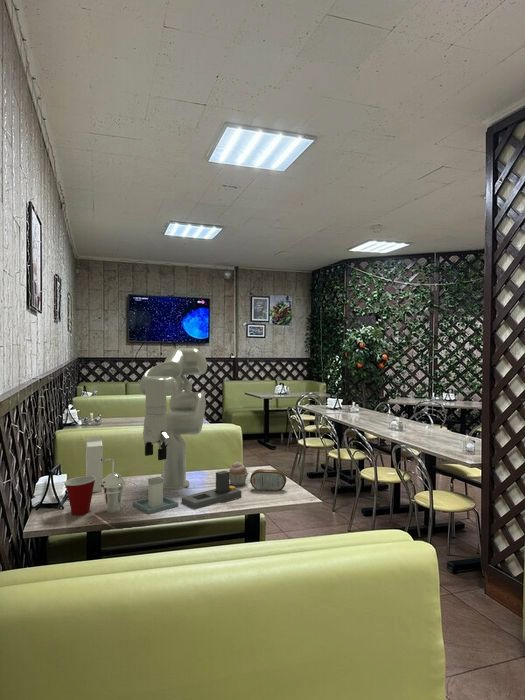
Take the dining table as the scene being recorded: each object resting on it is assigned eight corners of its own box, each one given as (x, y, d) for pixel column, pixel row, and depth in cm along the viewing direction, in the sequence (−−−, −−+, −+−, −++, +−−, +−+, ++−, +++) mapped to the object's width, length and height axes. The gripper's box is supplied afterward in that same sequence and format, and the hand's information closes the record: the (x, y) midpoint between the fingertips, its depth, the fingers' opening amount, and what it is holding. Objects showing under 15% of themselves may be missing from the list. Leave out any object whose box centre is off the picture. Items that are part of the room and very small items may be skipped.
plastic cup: (73, 506, 167) (73, 474, 167) (101, 507, 166) (101, 475, 166) (57, 517, 156) (57, 482, 156) (86, 518, 155) (86, 483, 155)
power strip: (181, 503, 171) (181, 495, 171) (227, 491, 185) (227, 483, 185) (194, 510, 164) (195, 501, 164) (241, 497, 179) (241, 488, 179)
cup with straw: (128, 512, 161) (128, 456, 161) (102, 517, 156) (102, 460, 156) (121, 505, 168) (122, 452, 168) (96, 510, 163) (96, 455, 163)
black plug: (215, 497, 178) (215, 472, 178) (224, 495, 181) (224, 470, 181) (220, 499, 175) (220, 474, 175) (229, 497, 178) (229, 472, 178)
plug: (148, 505, 167) (148, 478, 167) (158, 503, 170) (159, 476, 170) (152, 508, 164) (152, 480, 164) (163, 505, 167) (163, 478, 167)
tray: (133, 506, 167) (133, 501, 167) (161, 499, 176) (161, 494, 176) (148, 515, 159) (148, 510, 159) (178, 507, 167) (178, 502, 167)
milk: (85, 489, 188) (85, 436, 188) (101, 487, 191) (100, 435, 191) (87, 493, 183) (87, 439, 183) (102, 491, 185) (102, 437, 186)
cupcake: (252, 482, 198) (252, 460, 198) (241, 488, 190) (241, 464, 190) (234, 479, 203) (234, 457, 203) (222, 485, 194) (223, 462, 194)
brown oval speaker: (286, 489, 189) (286, 469, 189) (285, 492, 186) (286, 471, 186) (250, 488, 190) (250, 468, 190) (249, 490, 187) (249, 470, 187)
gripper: (135, 409, 171) (135, 455, 170) (158, 414, 158) (158, 463, 158) (153, 408, 176) (153, 452, 176) (177, 412, 163) (176, 459, 163)
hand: (155, 457), depth 167 cm, fingers open, 9 cm apart
